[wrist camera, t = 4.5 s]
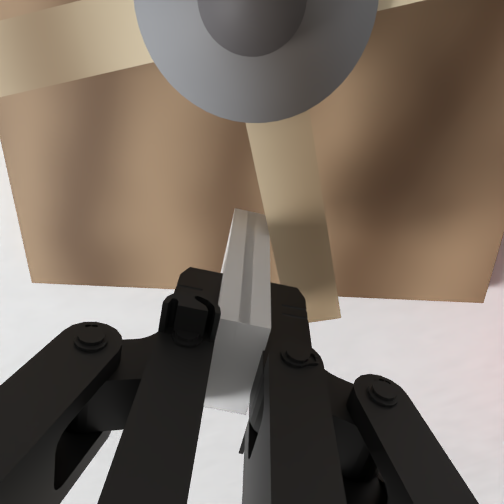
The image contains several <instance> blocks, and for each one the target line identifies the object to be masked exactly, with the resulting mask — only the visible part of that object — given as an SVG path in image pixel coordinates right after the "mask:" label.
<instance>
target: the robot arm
mask: <svg viewBox="0 0 504 504" xmlns="http://www.w3.org/2000/svg"><path fill="white" fill-rule="evenodd" d="M306 310H307V308H306V301H305V297H304V296H303V295H302V293H301V292H300V291H299V289H298V288H296V287H291V286H287V285H282V284H277V283H272V282H270V235H269V230H268V226H267V221H266V216H265V215H263V214H259V213H254V212H250V211H245V210H241V209H236V208H235V210H234V214H233V219H232V224H231V228H230V233H229V237H228V242H227V246H226V251H225V255H224V260H223V264H222V269H221V273H218V272H213V271H208V270H203V269H198V268H194V267H189V268H188V269H186V270H185V271H184V272H182V273H181V274H180V276H179V279H178V282H177V286H176V289H175V292H174V294H172V295H169V296H167V298H166V299H165V300H164V301H163V305H162V311H161V317H160V323H159V330H158V332H157V333H155V334H153V335H151V336H149V337H145V338H141V339H127V340H122V336H121V335H120V334H119V332H118V331H117V330H116V329H115V328H113V327H111V326H109V325H107V324H103V323H99V322H82V323H78V324H75V325H72V326H70V327H69V328H67V329H65V330H64V331H62V332H61V333H60V334H59V335H58V336H57V337H56V338H54V339H53V340H52V341H51V342H50V343H49V344H47V345H46V346H45V347H44V348H43V349H42V350H41V351H39V352H38V353H37V354H36V355H35V356H34V357H33V358H31V359H30V360H29V361H28V362H27V363H26V364H25V365H23V366H22V367H21V368H20V369H19V370H18V371H16V372H15V373H14V374H13V375H12V376H11V377H10V378H8V379H7V380H6V381H5V382H4V383H3V384H2V385H0V504H60V503H61V501H62V500H63V499H64V497H65V496H66V495H67V493H68V492H69V490H70V489H71V488H72V486H73V485H74V484H75V482H76V481H77V480H78V478H79V477H80V475H81V474H82V473H83V471H84V470H85V469H86V467H87V466H88V464H89V463H90V462H91V460H92V459H93V458H94V456H95V455H96V453H97V452H98V451H99V449H100V448H101V447H102V445H103V444H104V442H105V441H106V440H107V438H108V437H109V435H110V432H111V430H122V429H124V430H123V433H122V435H121V438H120V441H119V444H118V447H117V450H116V452H115V455H114V458H113V461H112V464H111V467H110V469H109V472H108V475H107V478H106V481H105V484H104V487H103V489H102V492H101V495H100V498H99V501H98V504H187V499H188V493H189V488H190V482H191V476H192V470H193V464H194V459H195V453H196V447H197V441H198V435H199V430H200V424H201V418H202V412H203V407H207V408H213V409H217V410H222V411H228V412H233V413H239V414H244V415H246V412H247V409H248V406H249V421H248V424H247V427H246V431H245V434H244V437H243V441H242V444H241V447H240V451H239V453H240V454H243V453H244V471H243V494H242V504H479V503H478V502H477V500H476V499H475V497H474V496H473V494H472V493H471V491H470V489H469V488H468V486H467V485H466V483H465V482H464V480H463V479H462V477H461V476H460V474H459V473H458V471H457V470H456V468H455V467H454V465H453V464H452V462H451V460H450V459H449V457H448V456H447V454H446V453H445V451H444V450H443V448H442V447H441V445H440V444H439V442H438V441H437V439H436V438H435V436H434V435H433V433H432V431H431V430H430V428H429V427H428V425H427V424H426V422H425V421H424V419H423V418H422V416H421V415H420V413H419V412H418V410H417V409H416V407H415V406H414V404H413V402H412V401H411V399H410V398H409V396H408V395H407V394H406V393H405V391H404V390H403V389H402V388H401V387H400V386H399V385H397V384H396V383H394V382H393V381H391V380H389V379H387V378H385V377H382V376H379V375H373V374H367V375H361V376H360V377H358V378H357V379H356V380H355V382H354V384H352V383H350V382H347V381H345V380H343V379H340V378H338V377H336V376H334V375H332V374H330V373H329V372H327V371H326V370H325V369H324V365H323V361H322V359H321V357H320V355H319V354H318V353H317V352H316V351H315V350H314V349H312V346H311V338H310V331H309V323H308V320H307V319H308V316H307V311H306ZM249 402H250V403H249Z"/></svg>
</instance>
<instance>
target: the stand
mask: <svg viewBox="0 0 504 504" xmlns="http://www.w3.org/2000/svg"><path fill="white" fill-rule="evenodd" d="M76 1H80V0H0V20H4V19H8V18H12V17H16V16H20V15H24V14H28V13H32V12H36V11H40V10H44V9H48V8H52V7H56V6H60V5H64V4H68V3H72V2H76ZM309 112H310V119H311V125H312V132H313V138H314V145H315V151H316V158H317V164H318V171H319V177H320V184H321V190H322V197H323V203H324V210H325V216H326V223H327V229H328V236H329V242H330V249H331V255H332V262H333V268H334V275H335V281H336V288H337V294H338V296H339V297H361V298H383V299H406V300H428V301H450V302H473V303H484V299H485V296H486V292H487V289H488V285H489V282H490V278H491V275H492V271H493V268H494V265H495V261H496V258H497V254H498V251H499V247H500V244H501V240H502V237H503V233H504V0H424V1H419V2H415V3H411V4H406V5H402V6H397V7H393V8H389V9H384V10H380V11H377V13H376V18H375V23H374V26H373V29H372V32H371V35H370V38H369V41H368V43H367V45H366V47H365V49H364V51H363V53H362V56H361V57H360V59H359V61H358V62H357V64H356V65H355V67H354V69H353V70H352V72H351V73H350V74H349V75H348V77H347V78H346V79H345V80H344V81H343V83H342V84H341V85H340V86H339V87H338V88H337V89H336V90H335V91H334V92H333V93H332V94H331V95H329V96H328V97H327V98H325V99H324V100H323V101H321V102H320V103H319V104H317V105H315V106H314V107H312V108H310V109H309ZM0 139H1V144H2V148H3V153H4V158H5V162H6V167H7V171H8V176H9V180H10V185H11V189H12V194H13V198H14V203H15V208H16V212H17V217H18V221H19V226H20V230H21V235H22V239H23V244H24V248H25V253H26V258H27V262H28V267H29V271H30V276H31V280H32V283H48V284H71V285H93V286H115V287H138V288H160V289H176V286H177V282H178V279H179V276H180V274H181V273H182V272H184V271H185V270H186V269H188V268H189V267H194V268H198V269H203V270H208V271H213V272H218V273H221V269H222V264H223V260H224V255H225V251H226V246H227V242H228V237H229V233H230V228H231V224H232V219H233V214H234V210H235V208H236V209H241V210H245V211H250V212H254V213H259V214H263V215H265V212H264V207H263V202H262V198H261V193H260V188H259V184H258V179H257V174H256V170H255V165H254V160H253V155H252V151H251V146H250V141H249V137H248V132H247V127H246V123H245V122H237V121H232V120H228V119H224V118H221V117H218V116H216V115H213V114H211V113H209V112H206V111H205V110H203V109H201V108H199V107H198V106H196V105H194V104H193V103H191V102H190V101H189V100H187V99H186V98H185V97H183V96H182V95H181V94H180V93H179V92H178V91H177V90H176V89H175V88H174V87H173V86H172V85H171V84H170V83H169V82H168V81H167V79H166V78H165V77H164V76H163V75H162V73H161V72H160V71H159V69H158V67H157V66H156V64H155V63H154V62H152V63H148V64H143V65H139V66H135V67H130V68H126V69H121V70H117V71H113V72H108V73H104V74H100V75H95V76H91V77H86V78H82V79H78V80H73V81H69V82H65V83H60V84H56V85H51V86H47V87H43V88H38V89H34V90H29V91H25V92H21V93H16V94H12V95H8V96H3V97H0ZM270 282H272V283H277V284H280V282H279V277H278V272H277V268H276V263H275V258H274V254H273V249H272V244H271V240H270Z"/></svg>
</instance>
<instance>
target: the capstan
mask: <svg viewBox="0 0 504 504" xmlns="http://www.w3.org/2000/svg"><path fill="white" fill-rule="evenodd" d="M419 1H424V0H80V1H76V2H72V3H68V4H64V5H60V6H56V7H52V8H48V9H44V10H40V11H36V12H32V13H28V14H24V15H20V16H16V17H12V18H8V19H4V20H0V97H3V96H8V95H12V94H16V93H21V92H25V91H29V90H34V89H38V88H43V87H47V86H51V85H56V84H60V83H65V82H69V81H73V80H78V79H82V78H86V77H91V76H95V75H100V74H104V73H108V72H113V71H117V70H121V69H126V68H130V67H135V66H139V65H143V64H148V63H152V62H154V63H155V64H156V66H157V67H158V69H159V71H160V72H161V73H162V75H163V76H164V77H165V78H166V79H167V81H168V82H169V83H170V84H171V85H172V86H173V87H174V88H175V89H176V90H177V91H178V92H179V93H180V94H181V95H182V96H183V97H185V98H186V99H187V100H189V101H190V102H191V103H193V104H194V105H196V106H198V107H199V108H201V109H203V110H205V111H206V112H209V113H211V114H213V115H216V116H218V117H221V118H224V119H228V120H232V121H237V122H245V123H246V127H247V132H248V137H249V141H250V146H251V151H252V155H253V160H254V165H255V170H256V174H257V179H258V184H259V188H260V193H261V198H262V202H263V207H264V212H265V216H266V221H267V226H268V230H269V235H270V240H271V244H272V249H273V254H274V258H275V263H276V268H277V272H278V277H279V282H280V284H282V285H287V286H291V287H296V288H298V289H299V291H300V292H301V293H302V295H303V296H304V297H305V301H306V308H307V310H306V311H307V316H308V319H307V320H308V323H309V322H316V321H323V320H331V319H338V318H341V314H340V308H339V301H338V294H337V288H336V281H335V275H334V268H333V262H332V255H331V249H330V242H329V236H328V229H327V223H326V216H325V210H324V203H323V197H322V190H321V184H320V177H319V171H318V164H317V158H316V151H315V145H314V138H313V132H312V125H311V119H310V112H309V109H310V108H312V107H314V106H315V105H317V104H319V103H320V102H321V101H323V100H324V99H325V98H327V97H328V96H329V95H331V94H332V93H333V92H334V91H335V90H336V89H337V88H338V87H339V86H340V85H341V84H342V83H343V81H344V80H345V79H346V78H347V77H348V75H349V74H350V73H351V72H352V70H353V69H354V67H355V65H356V64H357V62H358V61H359V59H360V57H361V56H362V53H363V51H364V49H365V47H366V45H367V43H368V41H369V38H370V35H371V32H372V29H373V26H374V23H375V18H376V13H377V11H380V10H384V9H389V8H393V7H397V6H402V5H406V4H411V3H415V2H419Z"/></svg>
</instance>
